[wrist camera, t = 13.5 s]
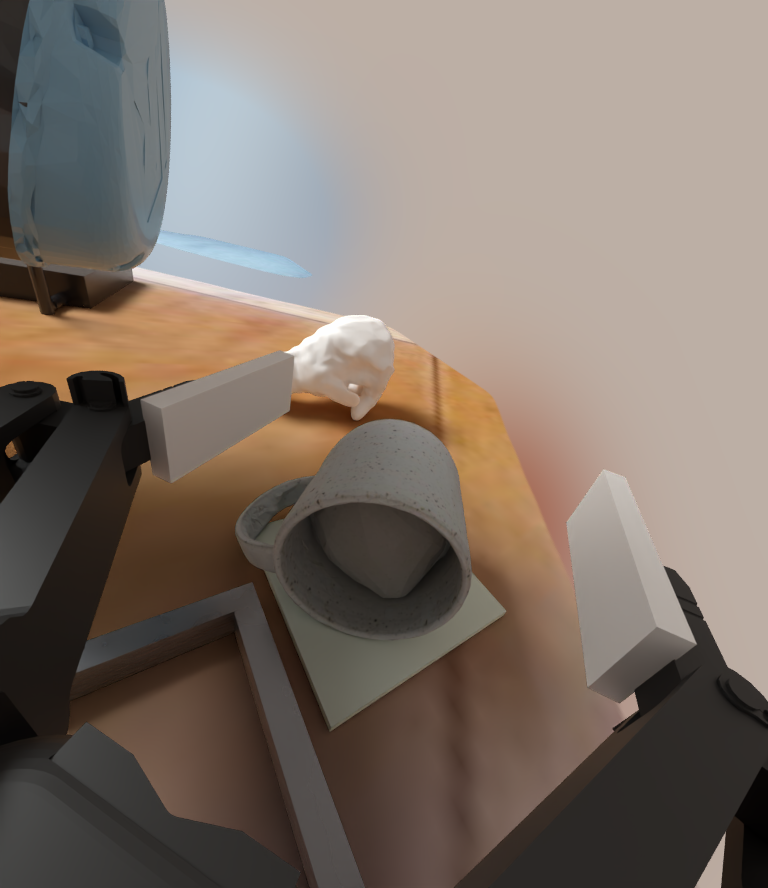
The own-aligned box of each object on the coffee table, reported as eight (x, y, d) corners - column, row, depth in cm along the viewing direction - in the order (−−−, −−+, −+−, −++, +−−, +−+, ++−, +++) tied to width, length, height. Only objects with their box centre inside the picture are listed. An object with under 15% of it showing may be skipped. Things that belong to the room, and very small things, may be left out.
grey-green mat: (248, 533, 19) (249, 528, 19) (395, 492, 25) (397, 488, 24) (329, 731, 13) (331, 727, 12) (503, 615, 18) (506, 611, 18)
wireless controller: (31, 267, 49) (-16, 104, 40) (147, 285, 54) (128, 143, 45) (-82, 303, 33) (-201, 47, 24) (96, 324, 38) (52, 116, 29)
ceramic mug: (437, 526, 22) (479, 420, 18) (437, 660, 15) (505, 537, 11) (274, 485, 22) (279, 371, 18) (198, 600, 15) (179, 455, 11)
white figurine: (408, 330, 28) (248, 325, 24) (392, 421, 33) (257, 429, 29) (383, 309, 33) (246, 301, 29) (373, 391, 38) (254, 394, 34)
